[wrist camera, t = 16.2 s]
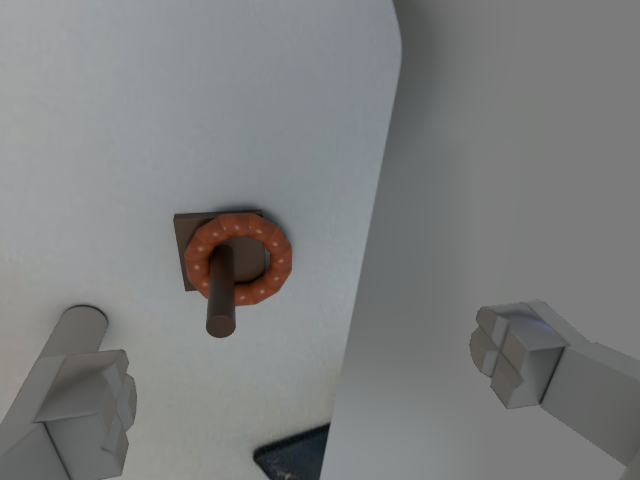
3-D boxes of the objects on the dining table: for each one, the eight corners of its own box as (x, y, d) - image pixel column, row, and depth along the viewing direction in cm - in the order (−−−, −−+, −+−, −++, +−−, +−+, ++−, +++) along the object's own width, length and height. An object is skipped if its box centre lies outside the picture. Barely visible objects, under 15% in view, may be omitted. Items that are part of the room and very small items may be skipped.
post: (261, 209, 43) (273, 277, 32) (265, 278, 48) (276, 359, 36) (174, 214, 42) (154, 288, 30) (186, 285, 46) (172, 373, 35)
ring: (290, 207, 42) (293, 216, 40) (290, 292, 48) (293, 305, 46) (180, 212, 40) (177, 222, 38) (192, 301, 46) (191, 314, 44)
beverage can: (115, 312, 46) (82, 397, 36) (99, 341, 47) (63, 431, 37) (70, 297, 44) (21, 383, 34) (55, 328, 45) (4, 420, 35)
